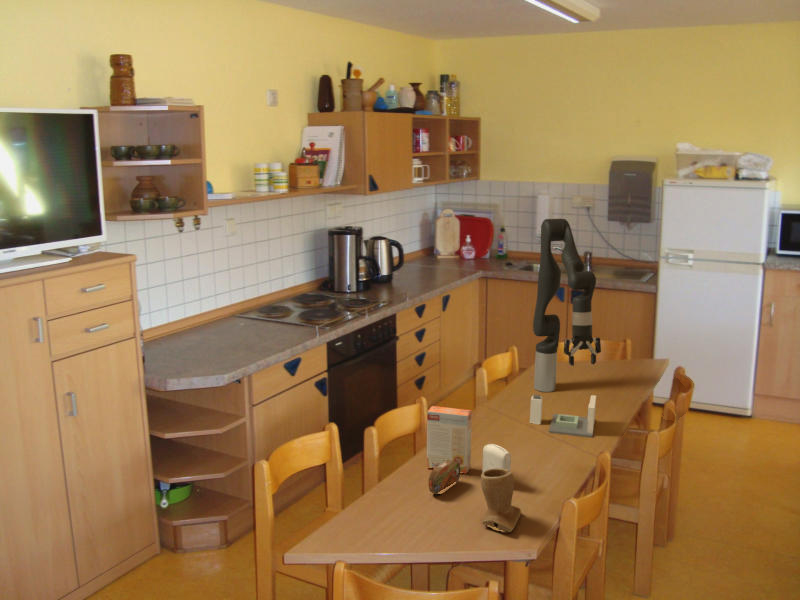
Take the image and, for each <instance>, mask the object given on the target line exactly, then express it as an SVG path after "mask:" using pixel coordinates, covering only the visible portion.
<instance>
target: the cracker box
mask: <svg viewBox="0 0 800 600" xmlns="http://www.w3.org/2000/svg"><path fill="white" fill-rule="evenodd" d="M472 411H473V410H470V409H463V408H455V407H454V408H453V407H447V406H446V407H445V406H436V405H432V406H431V407H429V409H428V410H427V412H426V413H427V418H426V420H427V421H426V422H427V423H426V468H427V467H432V468H436V467H438V466H440V465H441V464H443V463H444V462H446V461H448V460H452V461H457V462H458V463H459V465H460V472H463V473H467V472H468V473H469V471H470V470H471V468H470V467H471V465H472V464H471V462H472V458H471V457H472ZM468 470H469V471H468ZM468 473H467V474H468Z"/></svg>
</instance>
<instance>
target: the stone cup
mask: <svg viewBox="0 0 800 600" xmlns="http://www.w3.org/2000/svg"><path fill="white" fill-rule="evenodd" d="M480 485H481V486H480V487H481V490H482V494H483V495H484V500H485V502H486V505H487V509H486V510H485V514H484V516H483V518H482V520H481V524H482V525H484V524H486V525H490V526H492V527H496V528H498V529H499V530H503V531H507V532H506V533H511V532H512V531H513V530H514V528H515V527H516V526H517V523H518V521H519V518H520V517H521V513H522V511H521V508H520V507H518V506H515V505H512V501H513V494H514V491H515V484H514V475H513V474H512V471H511V472H510V471H509V470H507V469H501V468H494V469H488V470H486V471H484V472H483V471H482V473H481V475H480Z"/></svg>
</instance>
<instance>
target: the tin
mask: <svg viewBox="0 0 800 600" xmlns="http://www.w3.org/2000/svg"><path fill="white" fill-rule="evenodd" d="M460 476H461V473H460V465H459V463H458V462H457V461H452V460H448V461H446V462H444V463H443V464H441V465H440V466H438V467H436V468H435V469H432V471H431V472H430V474H429V476H428V489H429V492H430V493H431V492H432V493H431V494H433V493H435V494H434V495H437V493H438V492H440V491H441V490H443V489H445V488H446V487H448V486H450V485H451V484H453V483H454V482H457V483H458V482H459V480H460Z"/></svg>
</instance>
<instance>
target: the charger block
mask: <svg viewBox="0 0 800 600" xmlns="http://www.w3.org/2000/svg"><path fill="white" fill-rule="evenodd" d="M542 411H543V396H541V394H533V395H532V396H531V398H530V408H529V412H530V413H529V414H530V415H529V424H530V423H533V424H532V425H539V424H540V425H541V424H542V417H543V416H542V414H543V412H542Z"/></svg>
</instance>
